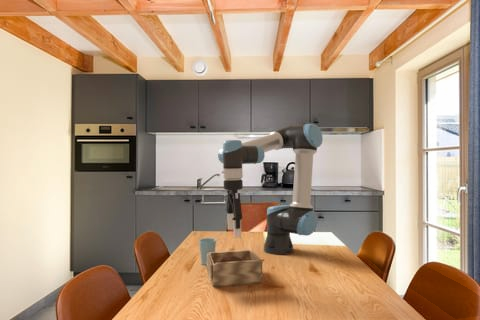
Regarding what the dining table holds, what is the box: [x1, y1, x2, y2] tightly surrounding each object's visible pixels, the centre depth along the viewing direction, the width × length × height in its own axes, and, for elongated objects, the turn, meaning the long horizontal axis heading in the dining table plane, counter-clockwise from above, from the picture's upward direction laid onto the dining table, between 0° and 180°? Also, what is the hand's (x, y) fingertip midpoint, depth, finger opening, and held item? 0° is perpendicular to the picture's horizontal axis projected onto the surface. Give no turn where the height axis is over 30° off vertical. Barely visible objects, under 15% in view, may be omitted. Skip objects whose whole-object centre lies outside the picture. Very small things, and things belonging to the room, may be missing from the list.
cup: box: [198, 237, 217, 266], centre depth 141 cm, size 8×8×10 cm
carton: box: [206, 249, 263, 288], centre depth 123 cm, size 20×17×8 cm
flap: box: [215, 258, 265, 265], centre depth 112 cm, size 17×1×6 cm
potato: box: [220, 255, 243, 262], centre depth 123 cm, size 7×10×8 cm
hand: (234, 233), depth 123 cm, fingers open, 13 cm apart
